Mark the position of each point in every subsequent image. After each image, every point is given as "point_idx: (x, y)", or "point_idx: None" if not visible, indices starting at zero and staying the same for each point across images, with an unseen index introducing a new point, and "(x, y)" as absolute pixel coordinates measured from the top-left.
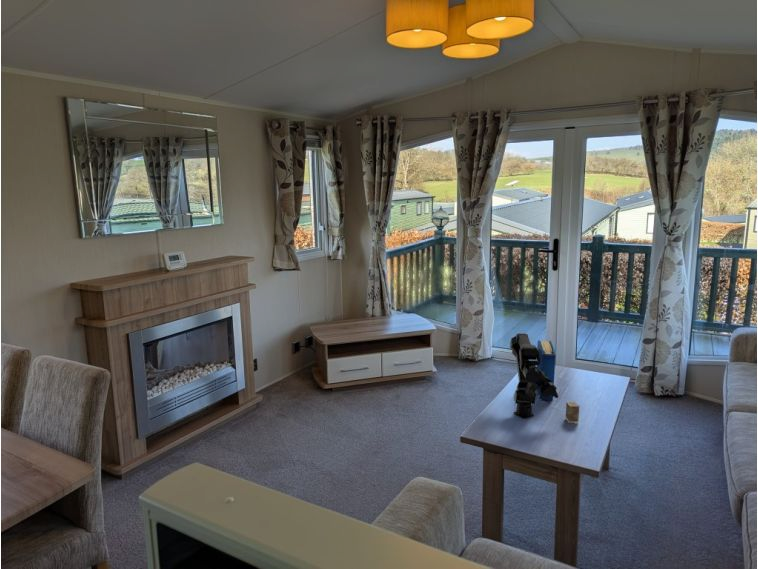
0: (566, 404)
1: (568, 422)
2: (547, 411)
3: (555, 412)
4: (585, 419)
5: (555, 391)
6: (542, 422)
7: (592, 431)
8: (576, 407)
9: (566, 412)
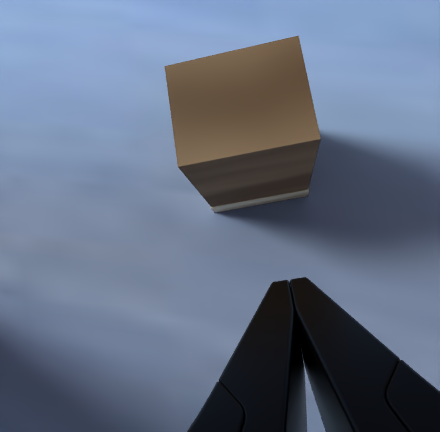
0: (191, 174)
1: (298, 195)
2: (91, 341)
3: (103, 277)
4: None
5: (401, 373)
6: None
7: (410, 39)
8: (302, 71)
9: (221, 193)
